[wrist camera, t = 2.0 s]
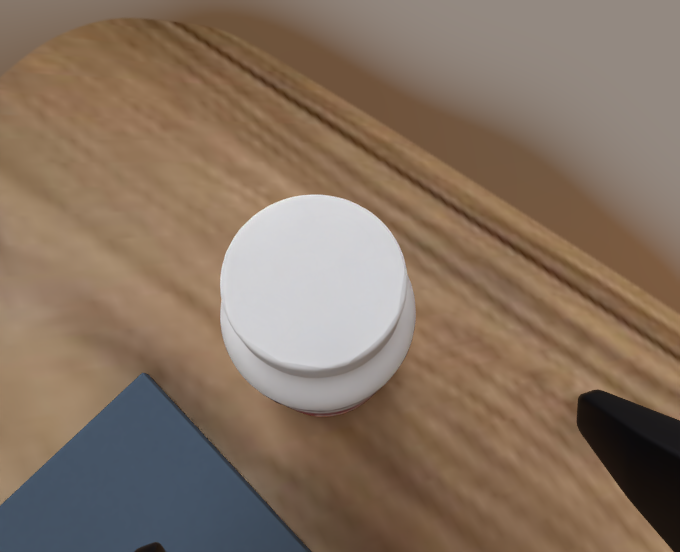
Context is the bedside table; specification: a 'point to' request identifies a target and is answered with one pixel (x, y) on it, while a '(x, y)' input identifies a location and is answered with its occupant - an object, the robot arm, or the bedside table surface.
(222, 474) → the mat
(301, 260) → the pill bottle
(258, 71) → the bedside table surface
